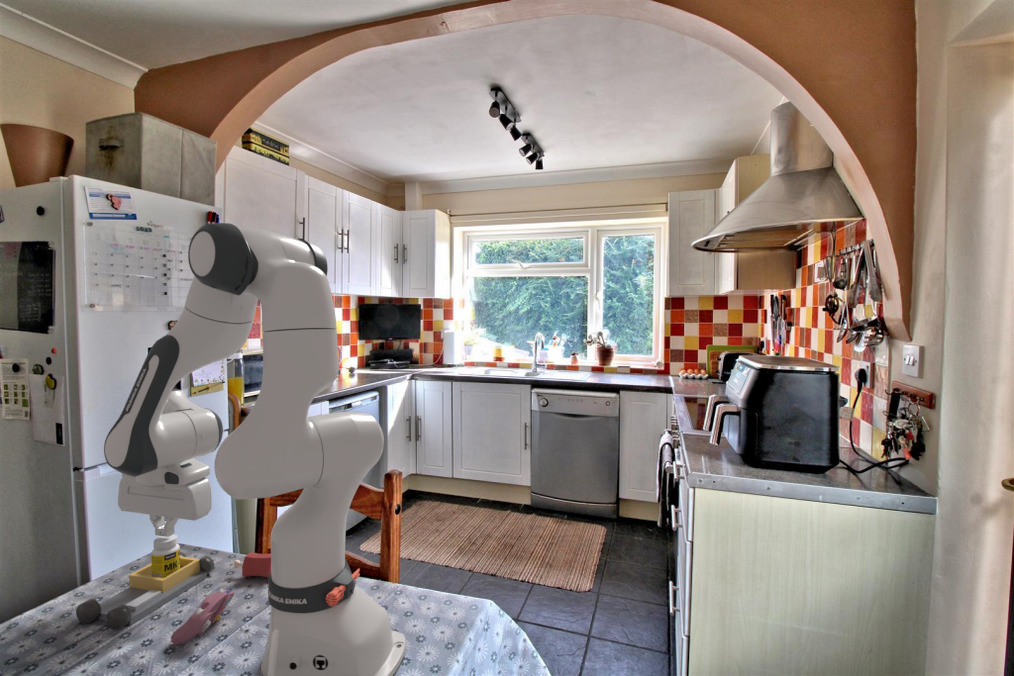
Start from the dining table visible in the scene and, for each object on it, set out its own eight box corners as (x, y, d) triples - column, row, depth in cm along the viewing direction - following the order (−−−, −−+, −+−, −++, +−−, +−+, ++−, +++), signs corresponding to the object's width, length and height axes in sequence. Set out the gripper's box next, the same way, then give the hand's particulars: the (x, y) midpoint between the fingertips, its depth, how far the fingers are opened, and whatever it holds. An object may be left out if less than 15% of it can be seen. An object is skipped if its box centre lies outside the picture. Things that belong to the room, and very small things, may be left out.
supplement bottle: (165, 586, 94) (164, 545, 94) (145, 583, 95) (144, 542, 95) (186, 573, 99) (185, 534, 98) (167, 571, 100) (166, 532, 99)
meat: (224, 579, 98) (228, 553, 99) (239, 573, 103) (242, 549, 104) (281, 581, 97) (284, 555, 98) (292, 575, 102) (295, 551, 103)
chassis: (214, 573, 101) (214, 557, 101) (122, 631, 82) (121, 611, 82) (174, 567, 103) (173, 551, 103) (76, 622, 85) (75, 602, 85)
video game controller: (189, 656, 79) (207, 620, 78) (165, 644, 79) (183, 608, 78) (227, 618, 89) (242, 586, 88) (205, 607, 89) (221, 575, 88)
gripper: (107, 469, 95) (109, 536, 96) (189, 478, 91) (191, 548, 91) (138, 459, 101) (139, 522, 102) (216, 467, 97) (218, 533, 97)
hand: (164, 535), depth 97 cm, fingers closed
